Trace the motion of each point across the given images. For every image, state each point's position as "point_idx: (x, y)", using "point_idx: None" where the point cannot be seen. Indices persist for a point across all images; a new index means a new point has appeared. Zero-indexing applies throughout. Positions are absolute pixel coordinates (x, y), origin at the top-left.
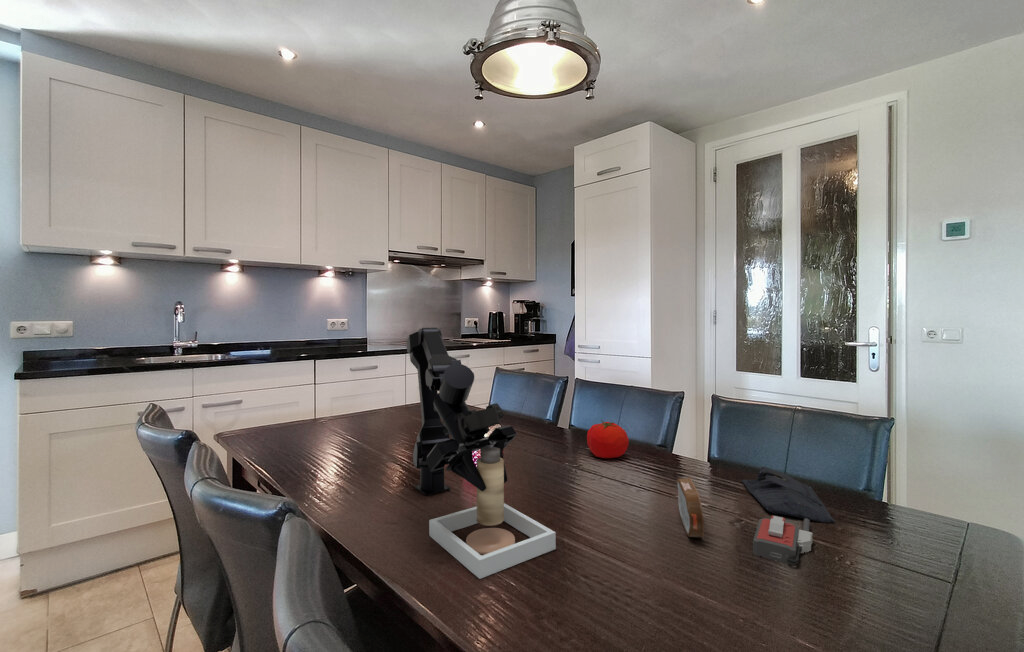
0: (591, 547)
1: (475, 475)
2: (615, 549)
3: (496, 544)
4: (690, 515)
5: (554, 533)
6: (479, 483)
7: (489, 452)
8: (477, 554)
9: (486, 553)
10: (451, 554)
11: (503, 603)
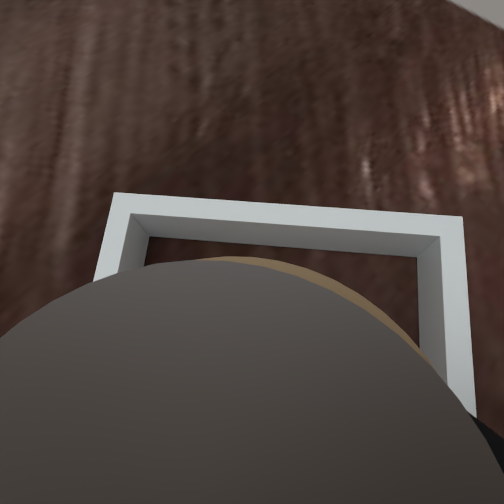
0: (54, 158)
1: (499, 444)
2: (22, 113)
3: None
4: None
5: (120, 194)
6: None
7: (391, 347)
8: (449, 251)
9: None
10: None
11: (439, 122)
